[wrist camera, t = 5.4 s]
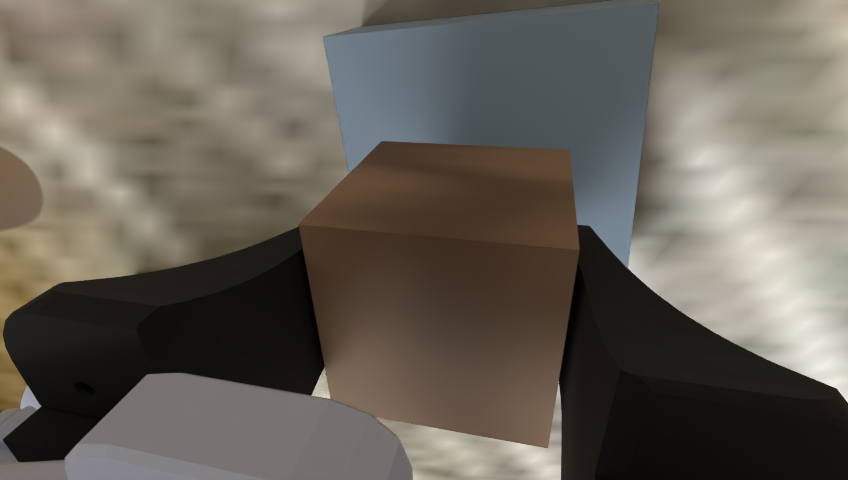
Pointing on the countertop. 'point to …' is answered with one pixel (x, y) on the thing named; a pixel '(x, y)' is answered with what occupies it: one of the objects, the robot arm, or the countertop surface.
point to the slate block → (511, 92)
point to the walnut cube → (447, 285)
